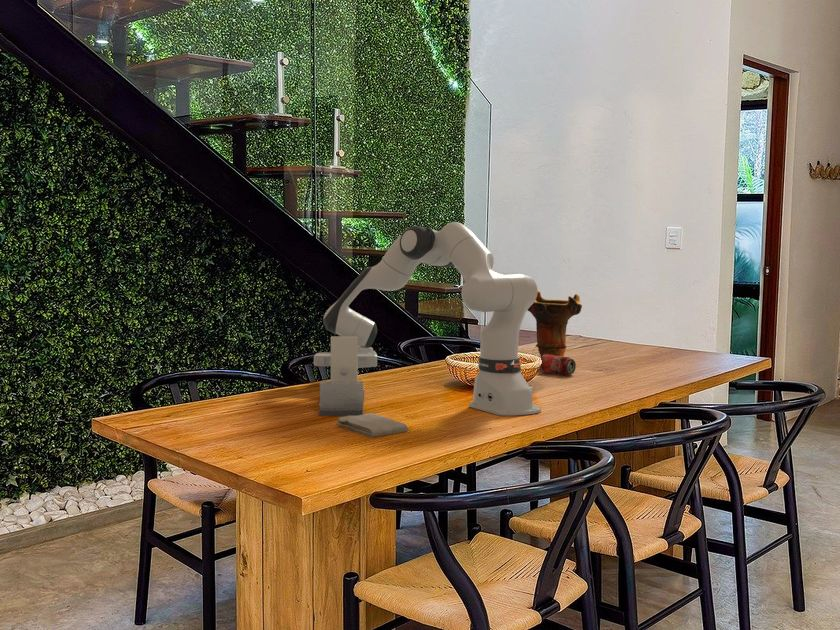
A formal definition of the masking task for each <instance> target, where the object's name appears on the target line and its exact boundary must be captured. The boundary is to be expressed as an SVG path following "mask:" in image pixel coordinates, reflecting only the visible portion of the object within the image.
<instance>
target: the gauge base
mask: <svg viewBox="0 0 840 630" xmlns="http://www.w3.org/2000/svg"><path fill="white" fill-rule="evenodd" d="M364 402H365V390H364V381H362V380H358V381H331V380H321V381H320V382H319V403H318V404H319V405H318V406H319V411H318V414H319V417H326V416H327V417H338V416H339V417H345V416H359V415H363V414H364Z"/></svg>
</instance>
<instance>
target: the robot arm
mask: <svg viewBox="0 0 840 630" xmlns="http://www.w3.org/2000/svg"><path fill="white" fill-rule="evenodd" d="M494 259H495V258H494V255H493V253H492V252H491V251H490V250H489V249H488V247H487V246H486V245H485V244H484V243H483V242H482V240H481V239H480V238H479V237H478V236H477V235H476V234H475V233H474V232H473V231H472V230H471V229H470V228H469V227H467V226H466V225H465V224H463V223H461V222H458V221H452V222H449V223H447V224H446V225H444V226H443V227H442V228H441V229H440V230H435V229H434V228H433V229H432V228H431V227H426V226H419V225H414V226H409V227H407V228H406V229H405V230H403V232H402V233H401V234H400V235H399V236H398V237H397V238H396V239H395V240H394V241H393V242H392V244H391V245H390V247H389V248H388V249H387V250H386V252H385V254H384V256H383V257H382V259H381V260H380V261H379V262H378V263H377V264H376V265H373V266H366V267H365V268H364V269H363V270H362V271H361V272H360V273H359V274H358V275H357V276H356V278H354V279H353V281H352V282H351V283H350V285H348V287H347V288H346V289H345V290H344V292H343V293H342V294H341V295H340V297H339V298H338V299H337V300H336V301H335V302H334V303H333V304H332V305H330V306H329V308H328V309H327V310H326V311H325V313H324V315H323V319H322V321H323V325H324V328H325V329H326V331H329V332H331V333H333V334H336V335H337V336H358V369H363V368H364V369H367V368H372V367H373V368H374V367H375V368H376V367H377V366H378V354H377V352H376V351H375V350H374V348H373V347H372V345H373V344H374V342H375V339H376V337H377V334H378V327H377V323H376V322H375V321H373V320H372V319H370V318H368V317H367V316H364V315H362V314H360V313H359V312H356V311H355V310H353V309H351V308H350V307H349V306H350V305H351V303H352V302H353V301H354V299H356V298H357V296H358V295H359V294H360V293H361V292H362V291H363V290H364V291H365V290H369V289H371V290H380V291H385V292H386V291H388V292H391V291H393V292H394V291H398V290H400V289H402V288H404V287H405V286H406V285H407V283H408V282H409V281H410V279H411V277H412V276H413V274H414V273H415V270H416V269H417V267H418V266H419V265H420V264H421V263H423V264H425V265H429V266H435V267H438V268H450V267H452V266H454V267H455V268H456V270H457V271H458V272H459V274H460V275H461V277H462V279H463V280H464V282H463V285H462V288H461V299H462V302H463V304H464V306H466V308H467V309H469V310H471V311H476V312H480V313H481V312H482V313H488V312H492V315H491V318H490V321H489V322H488V323H487V324H486V325H485V326H483V328H482V329H481V331H480V351H479V353H480V355H479V357H478V370H479V372H478V374H477V375H476V377H474V383H473V394H472V401H470V402H469V404H468V407H470V408H473V409H475V410H476V409H477V410H480V411H484V412H487V413H489V414H490V413H491V414H494V415H498V416H524V415H534V414H539V413H541V412H542V409H541V408H540V407H539V406H538V405H536V404H534V402H533V401H534V399H533V394H534V388H533V386H530V385H529V383H528V382H527V381H526V379H525V377H524V376H523V374H522V372H521V371H522V369H521V368H522V366H521V365H522V363H521V362H520V358H519V339H520V338H519V337H520V330H521V325H522V322H523V320H524V318H525V315H526V314H527V312H528V308H529V307H530V306H531V305H532V304H533V303H534V302H535V300H536V298H537V293H538V290H539V289H538V285H537V283H536V281H535V279H534V278H533V277H532V276H530V275H527V274H523V273H518V272H507V273H504V272H503V273H501V272H500V273H499V272H496V271H494V269H493V267H494V263H495V260H494ZM313 366H314V367H331V351H330V352H327V351H326V352H325V351H323V352H317V353H315V354H314V355H313Z"/></svg>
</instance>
